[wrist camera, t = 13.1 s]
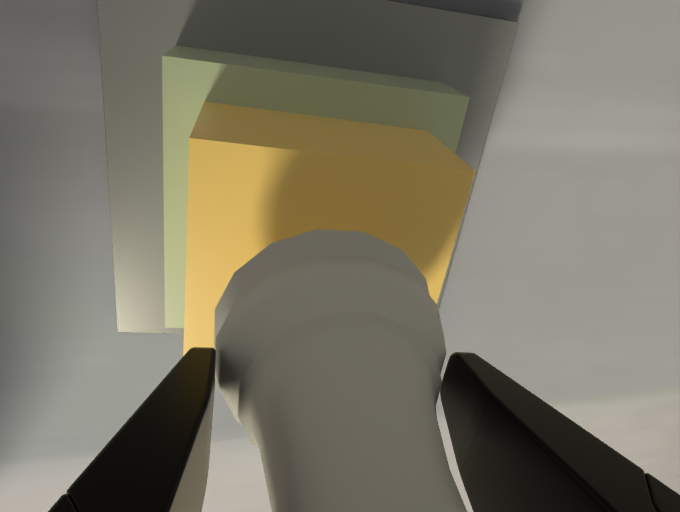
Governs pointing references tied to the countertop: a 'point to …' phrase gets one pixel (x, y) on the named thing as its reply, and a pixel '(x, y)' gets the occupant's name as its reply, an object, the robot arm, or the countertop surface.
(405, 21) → the baseplate
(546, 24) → the countertop surface
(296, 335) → the rook chess piece
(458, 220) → the ochre brick
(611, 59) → the countertop surface
